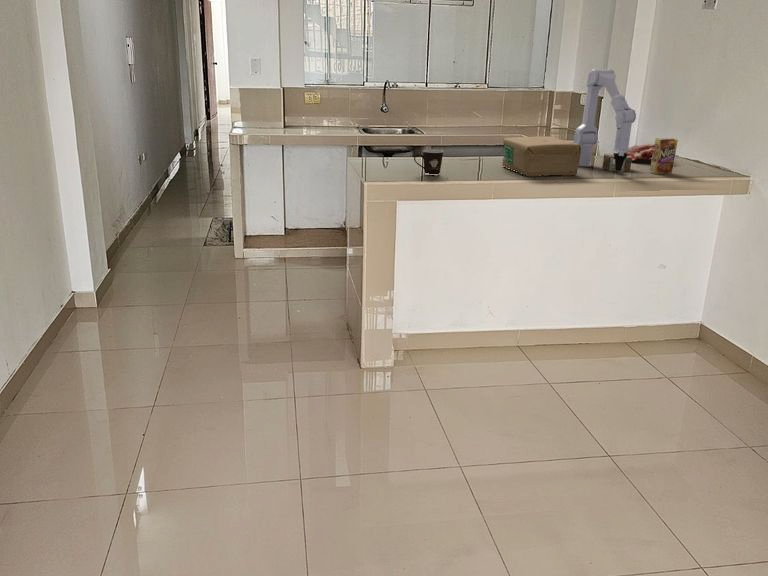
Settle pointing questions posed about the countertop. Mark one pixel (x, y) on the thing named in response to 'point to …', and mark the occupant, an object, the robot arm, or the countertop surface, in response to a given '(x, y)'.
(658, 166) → the candy box
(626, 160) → the bearing block
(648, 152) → the meat
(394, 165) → the countertop surface
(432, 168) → the coffee mug
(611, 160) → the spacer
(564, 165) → the paper package
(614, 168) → the shaft
